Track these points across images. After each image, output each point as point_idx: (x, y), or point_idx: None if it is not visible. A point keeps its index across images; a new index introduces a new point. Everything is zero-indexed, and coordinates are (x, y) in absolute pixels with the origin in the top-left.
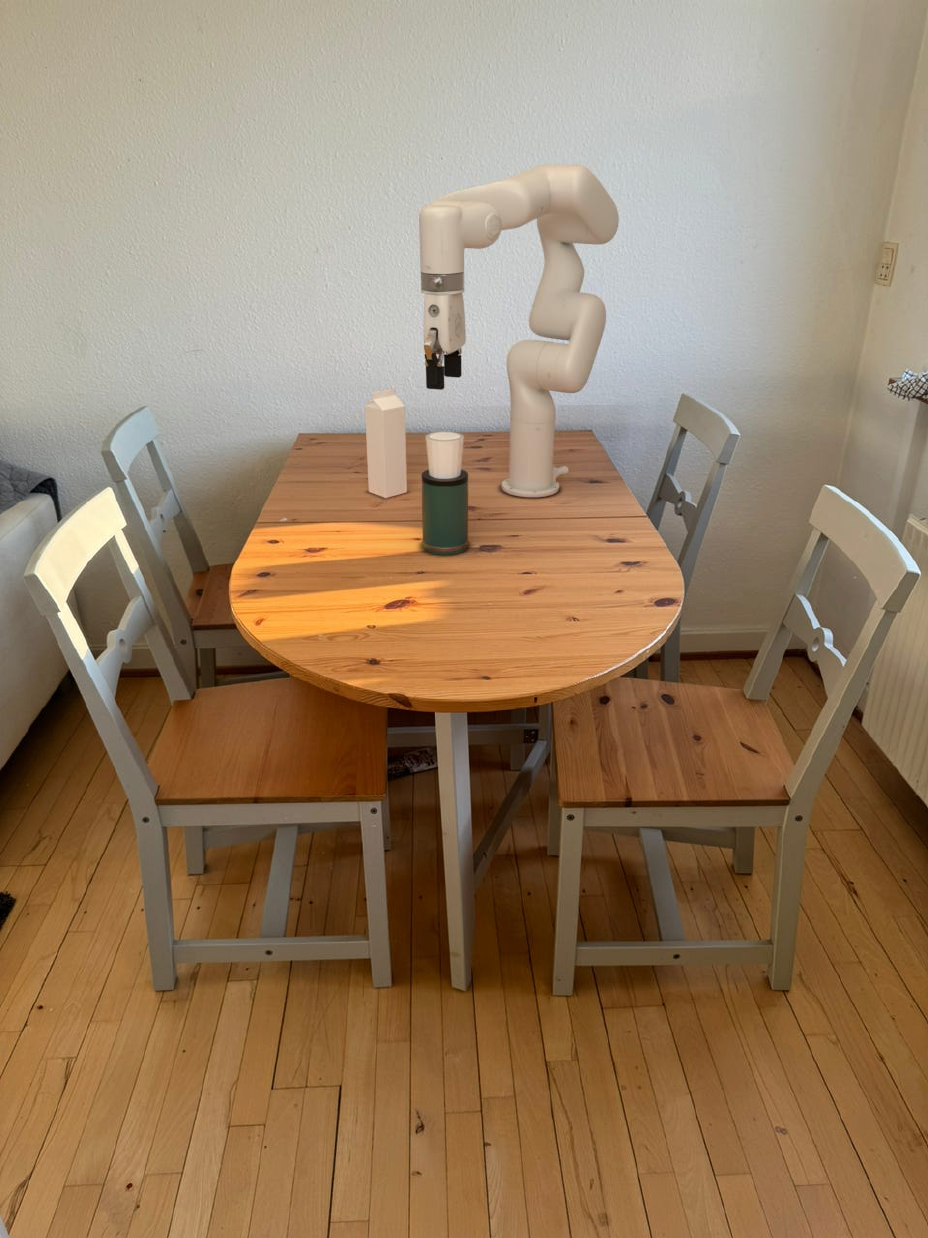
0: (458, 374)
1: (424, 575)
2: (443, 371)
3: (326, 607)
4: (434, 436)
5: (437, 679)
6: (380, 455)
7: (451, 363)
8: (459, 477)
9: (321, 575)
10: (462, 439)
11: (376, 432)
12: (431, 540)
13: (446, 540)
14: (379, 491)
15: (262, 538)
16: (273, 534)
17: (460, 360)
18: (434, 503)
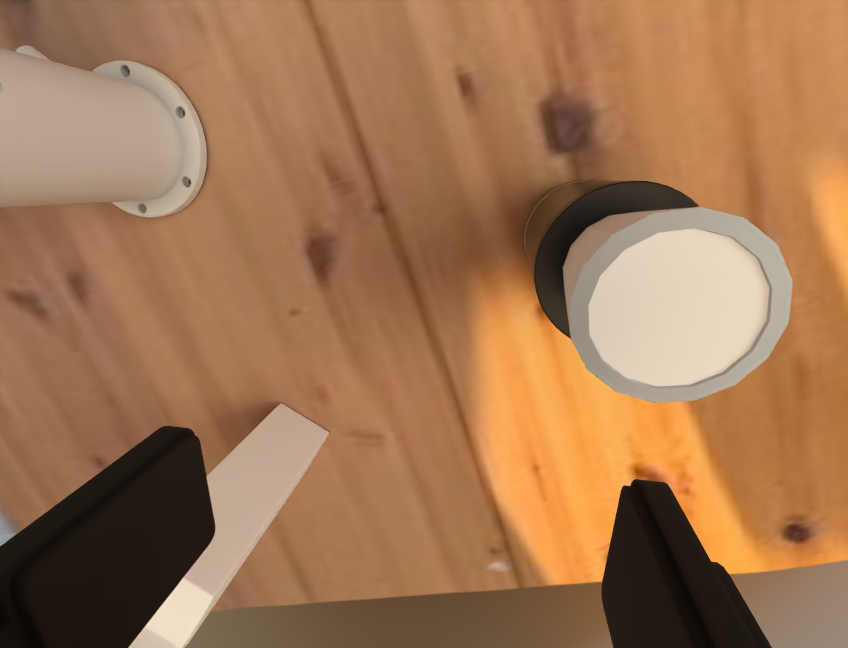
0: (184, 451)
1: (775, 231)
2: (745, 641)
3: None
4: (682, 360)
5: None
6: (282, 501)
7: (123, 578)
8: (658, 206)
9: (793, 438)
10: (702, 208)
11: (247, 553)
12: None
13: None
14: (317, 451)
15: (603, 576)
16: (578, 565)
17: (58, 528)
18: None
